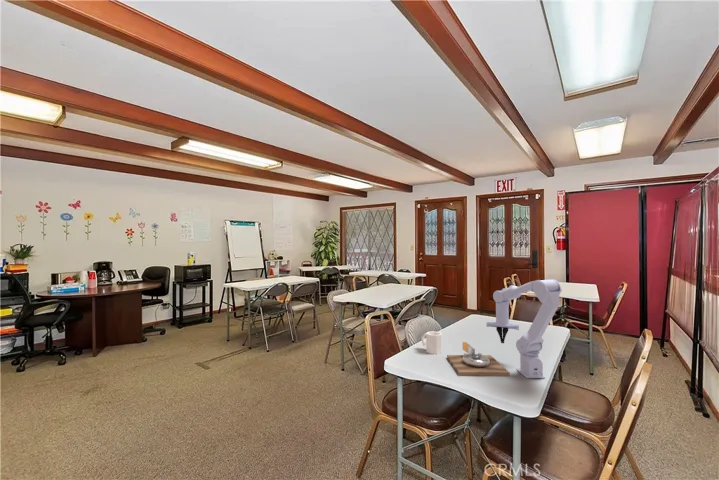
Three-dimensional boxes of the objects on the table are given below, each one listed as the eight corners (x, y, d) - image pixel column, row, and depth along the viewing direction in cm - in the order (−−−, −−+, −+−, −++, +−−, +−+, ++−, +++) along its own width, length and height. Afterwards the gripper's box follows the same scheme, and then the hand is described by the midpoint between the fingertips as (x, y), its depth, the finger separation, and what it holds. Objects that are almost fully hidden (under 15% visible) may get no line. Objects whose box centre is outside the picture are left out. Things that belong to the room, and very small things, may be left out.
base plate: (509, 376, 141) (509, 372, 141) (459, 375, 141) (459, 371, 141) (490, 357, 163) (490, 354, 163) (446, 357, 164) (446, 354, 164)
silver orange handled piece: (494, 366, 146) (494, 354, 146) (469, 367, 145) (469, 355, 145) (475, 352, 166) (475, 341, 166) (453, 353, 165) (452, 342, 165)
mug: (445, 351, 173) (444, 333, 174) (437, 355, 167) (436, 336, 167) (425, 346, 182) (425, 329, 182) (417, 350, 175) (417, 332, 175)
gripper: (518, 314, 158) (519, 342, 158) (487, 312, 165) (487, 338, 164) (518, 317, 152) (519, 346, 152) (485, 314, 158) (486, 342, 158)
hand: (502, 342), depth 158 cm, fingers closed
